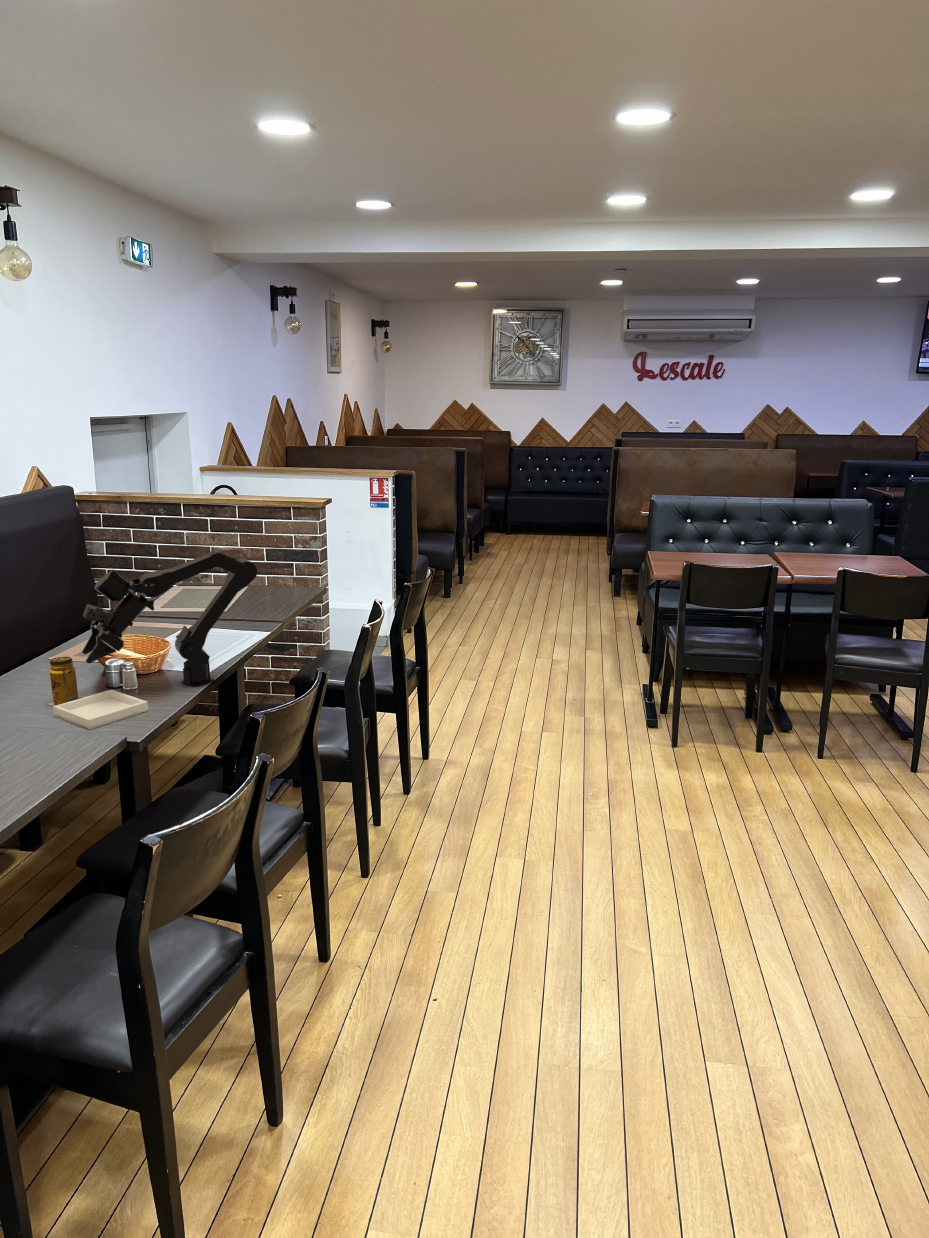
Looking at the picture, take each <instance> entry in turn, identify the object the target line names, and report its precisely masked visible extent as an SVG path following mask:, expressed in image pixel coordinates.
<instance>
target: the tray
mask: <svg viewBox="0 0 929 1238" xmlns="http://www.w3.org/2000/svg"><path fill="white" fill-rule="evenodd" d="M83 697H84V698H81V699H77V700H74V701H70V702H67V703H63V704H60V705H56V706H52V709H53V716H54V717H55V718H59V719H61V720H64V721H66V722H68V723H71V724H74V725H77V726H79V727H81V728H84V729H87V730H89V731H91V730H94V729H97V728H100V727H103V726H106V725H109V724H113V723H115V722H119V721H121V720H124V719H127V718H131V717H134V716H137V715H140V713H141V714H144V713H146V711H147V712H149V704H148V703H149V702H148V701H147V700H143V699H141V698H137V697H135V696H132V695H129V694H126V693H123V692H120V691H118V690H115V689H109V690H104V691H101V692H98V693H95V694H91V695H89V696H87V695H86V696H83ZM143 712H144V713H143Z"/></svg>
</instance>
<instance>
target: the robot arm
mask: <svg viewBox="0 0 929 1238" xmlns="http://www.w3.org/2000/svg"><path fill="white" fill-rule="evenodd" d="M214 568H220V569H223V570H225V571H227V573H226V574H227V575H226V577H225V581H224V582H223V584H222V586H221V587H220V589H219V590H218V592H217V593H216V594H215V596H214V597H213V598H212V599H211V601H210V602H209V603H208V605H207V607H206V608H205V609H204V611H203V612H202V614H200V616H199V617H198V619H197V620H196V621H195V623H194V624H192V625H191V626H190V627H187V626H186V625H183V626H182V629H181V631H180V632H179V633H178V634H177V635H175V638H176V640H175V641H174V647H175V648H174V649H175V650H176V651H177V653H178V654H179V656H180V657H182V658H183V659H185V661H184V662H183V668H182V676H183V679H181V683H182V682H183V684H185V683H186V685H189V684H190V685H189V686H192V685H193V686H192V687H198V685H199V686H202V685H204V684H205V685H206V684H208V683H211V682H214V681H215V679H214V678H212V677H211V670H210V658H211V657H210V655H209V654H208V653H207V652H206V651H205V649H204V645H205V643H206V640H207V637H208V634H209V632H210V631H211V630H212V629H213V627H214V625H216V623H217V622H218V620H219V619H220V618H221V616H222V615H223V613H224V612H225V611H226V609H227V608H228V607H229V605H230V604H231V603H232V601H233V600H234V598H235V597H236V596H237V594H238V593H239V592H240V591H242V590H244V589H245V588H246V587H248V585H250V584H251V583H252V582H253V581H254V580H255V579H256V577H257V576H258V568H257V565H256V564H255V563H254V562H252V561H250V560H249V559H246V558H245V557H241V558H234V557H232V556H230V555H227V554H225V553H222V552H221V551H219V550H211V551H209V552H207V553H206V554H203V555H201V556H198V557H196V558H194V559H191V560H188V561H186V562H183V563H181V564H179V565H175V566H173V567H170V568H167V569H166V568H165V569H160V570H154V571H153V570H152V571H148V572H145V573H144V574H141V576H140V577H137V578H133V579H129V580H126V579H125V578H124V577H122V576H121V575H120V574H119V573H118V572H117V571H116V570H114V569H110V570H109V571H108V572H107V573H106V574H104V576H101V578H99V580H98V581H97V582H96V584H95V585H94V588H93V589H94V590H95V591H96V592H98V593H100V594H101V595H102V596H104V597H105V598H106V599H108V600H109V601H111V602H112V603H113V602H119V603H118V604H117V605H116V606H115V607H114V606H113V607H110V609H109V610H107V609H105V608H102V607H99V606H95V605H92V604H89V603H87V604H86V606H85V608H84V611H83V614H82V616H83V618H84V619H85V620H87V621H91V622H90V623H91V624H90V629H91V633H90V636H89V638H88V640H87V642H86V644H85V645H84V647H83V649H82V651H81V653H82V654H83V655H88V656H87V658H86V659H85V662H86V663H87V664H91V663H93V662H96V661H98V660H101V659H102V658H104V657H107V656H109V655H111V654H114V653H117V652H120V651H121V650H122V649H123V647H124V646H125V645H124V640H123V637H124V636H123V634H124V632H125V631H126V630H127V629H128V628H129V626H130V627H133V625H134V621H135V620H136V619H137V617H139V615H140V614H141V613H142V612H143V611H144V610H145V609H146V608H148V609H149V610H151V611H155V606H154V605H155V600H154V599H153V598H156V597H157V598H158V597H159V596H161V595H162V594H163V593H164V594H165V592H167V591H169V590H170V589H171V588H172V587H173V586H175V585H176V584H178V583H180V582H182V581H186V580H187V579H190V578H192V577H194V576H195V577H196V576H197V575H200V574H203V573H205V572H207V571H210V570H212V569H214ZM136 593H137V594H136ZM144 595H145V596H146V597H145V596H144ZM147 597H149V598H150V599H148V598H147ZM201 684H202V685H201Z"/></svg>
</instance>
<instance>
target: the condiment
mask: <svg viewBox="0 0 929 1238" xmlns="http://www.w3.org/2000/svg"><path fill="white" fill-rule="evenodd" d="M49 664H50V665H49V667H50V670H49V679H50V686H51V693H52V699H53V701H51V702H49V703H47V705H49V706H52V707H53V706H56V705H60V704H63V703H67V702H70V701H74V700H77V699H81V698H84V697H85V696H83V695H79V691H78V683H77V675H76V673H77V672H76V668H75V667H74V663H73V658H72V657H70V656H58V657H54V658H52V659H50V660H49Z"/></svg>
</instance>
